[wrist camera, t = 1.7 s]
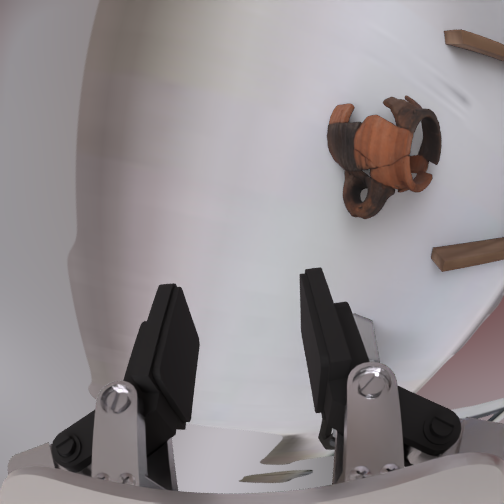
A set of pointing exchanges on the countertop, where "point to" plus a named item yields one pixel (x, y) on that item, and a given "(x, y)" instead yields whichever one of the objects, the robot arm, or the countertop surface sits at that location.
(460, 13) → the countertop surface
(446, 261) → the frame
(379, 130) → the pottery mug
